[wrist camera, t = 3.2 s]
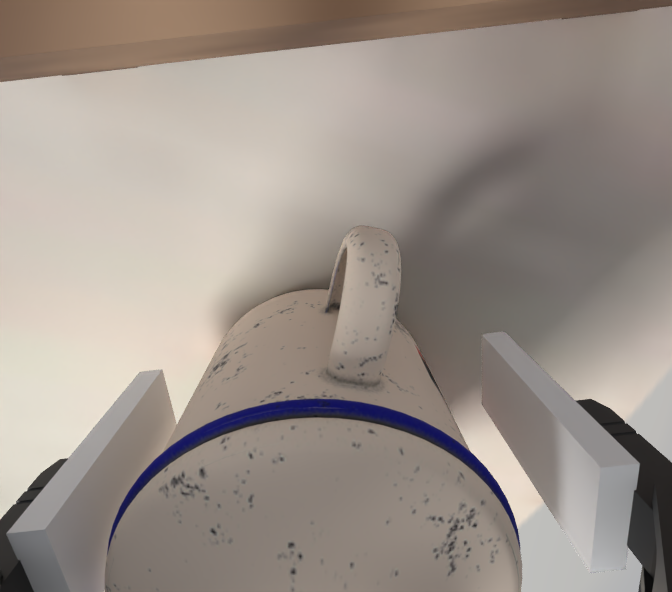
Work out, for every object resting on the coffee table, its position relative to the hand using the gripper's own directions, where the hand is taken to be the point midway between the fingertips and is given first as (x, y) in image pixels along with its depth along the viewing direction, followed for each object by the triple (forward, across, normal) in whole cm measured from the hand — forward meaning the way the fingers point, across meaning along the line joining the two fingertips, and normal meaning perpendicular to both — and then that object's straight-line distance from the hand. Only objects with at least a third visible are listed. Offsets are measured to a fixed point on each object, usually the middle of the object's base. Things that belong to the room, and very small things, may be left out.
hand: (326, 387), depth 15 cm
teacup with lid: (+3, 0, 0) cm, 3 cm away
